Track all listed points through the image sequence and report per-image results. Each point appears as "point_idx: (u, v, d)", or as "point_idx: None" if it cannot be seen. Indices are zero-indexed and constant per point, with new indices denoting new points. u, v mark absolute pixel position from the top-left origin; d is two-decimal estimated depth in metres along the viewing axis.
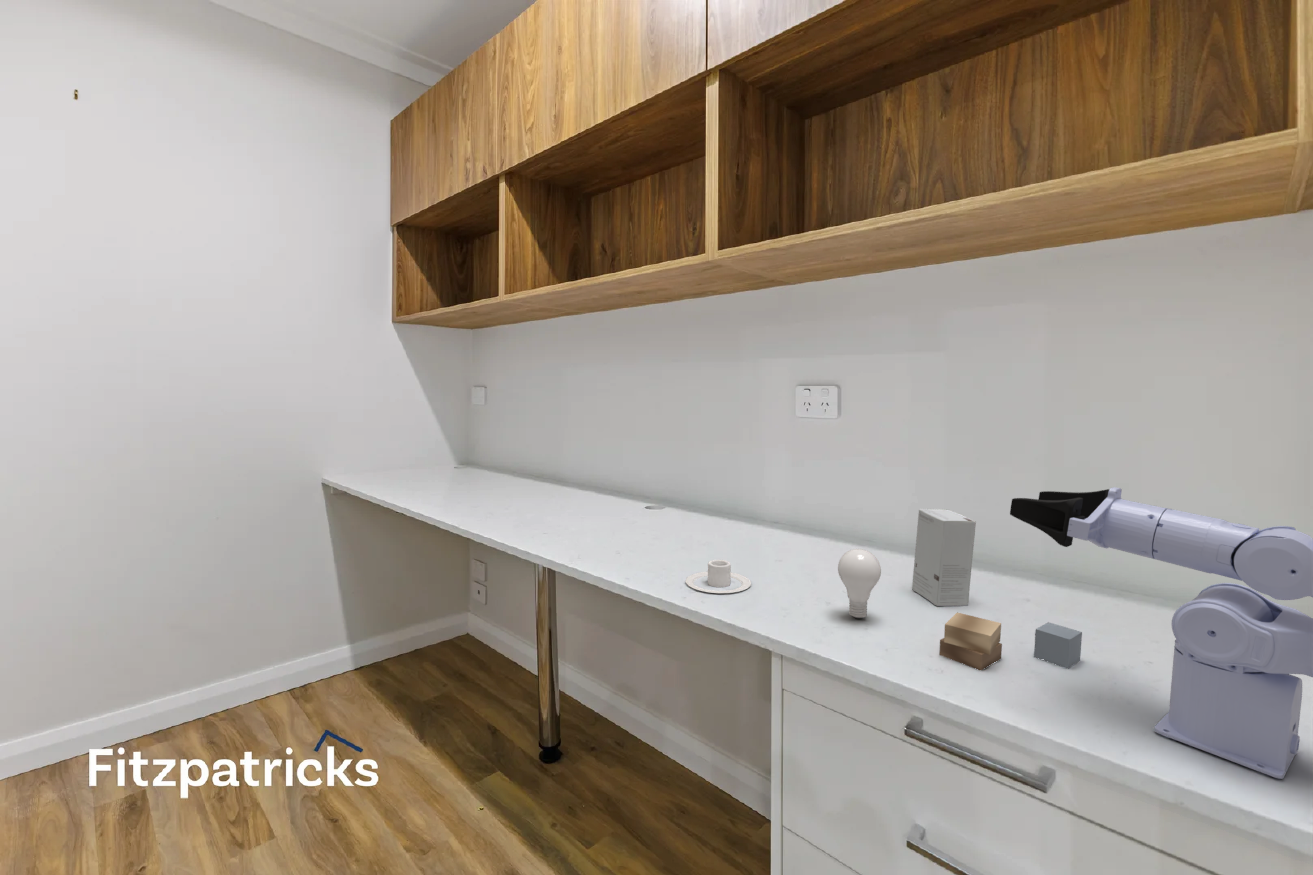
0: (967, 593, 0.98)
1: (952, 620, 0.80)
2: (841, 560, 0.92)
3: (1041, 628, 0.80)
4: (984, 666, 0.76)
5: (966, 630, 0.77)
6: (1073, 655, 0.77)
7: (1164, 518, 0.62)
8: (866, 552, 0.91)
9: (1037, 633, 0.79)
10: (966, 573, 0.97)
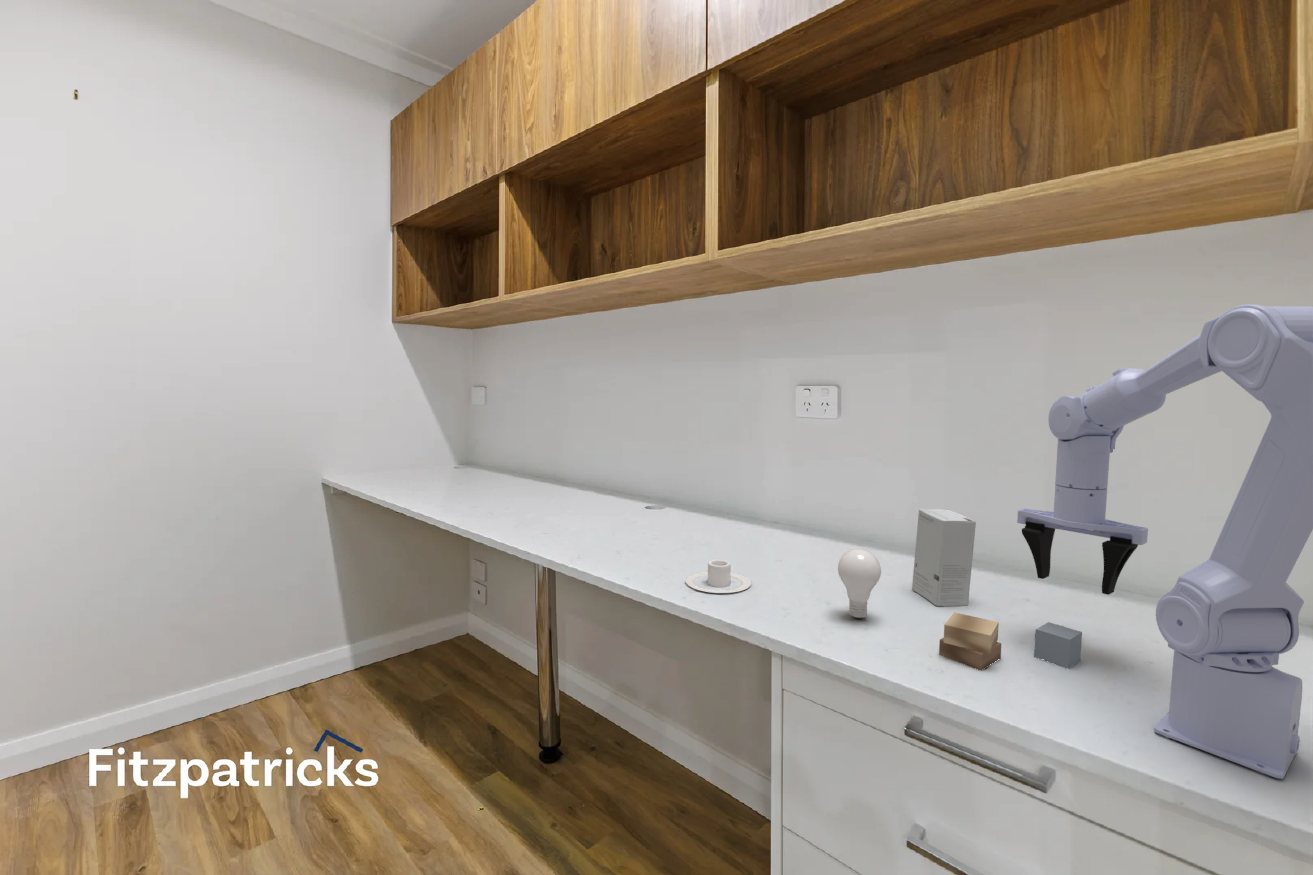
0: (967, 593, 0.98)
1: (951, 620, 0.80)
2: (841, 560, 0.92)
3: (1041, 628, 0.80)
4: (983, 666, 0.76)
5: (966, 630, 0.77)
6: (1073, 655, 0.77)
7: None
8: (866, 552, 0.91)
9: (1037, 633, 0.79)
10: (966, 573, 0.97)
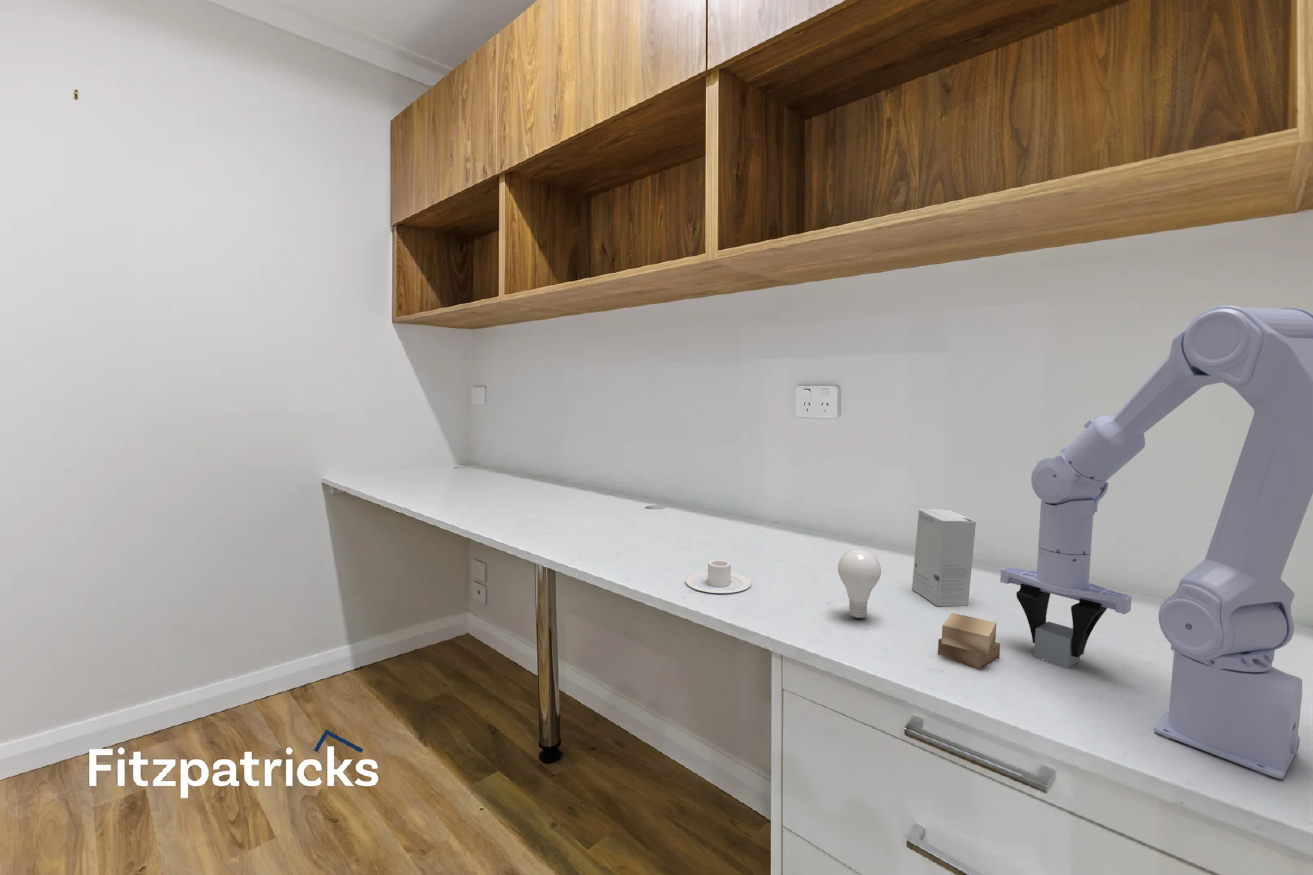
0: (967, 593, 0.98)
1: (948, 621, 0.80)
2: (841, 560, 0.92)
3: (1041, 627, 0.80)
4: (982, 666, 0.77)
5: (964, 631, 0.77)
6: None
7: (1038, 542, 0.79)
8: (866, 552, 0.91)
9: (1037, 632, 0.79)
10: (966, 573, 0.97)
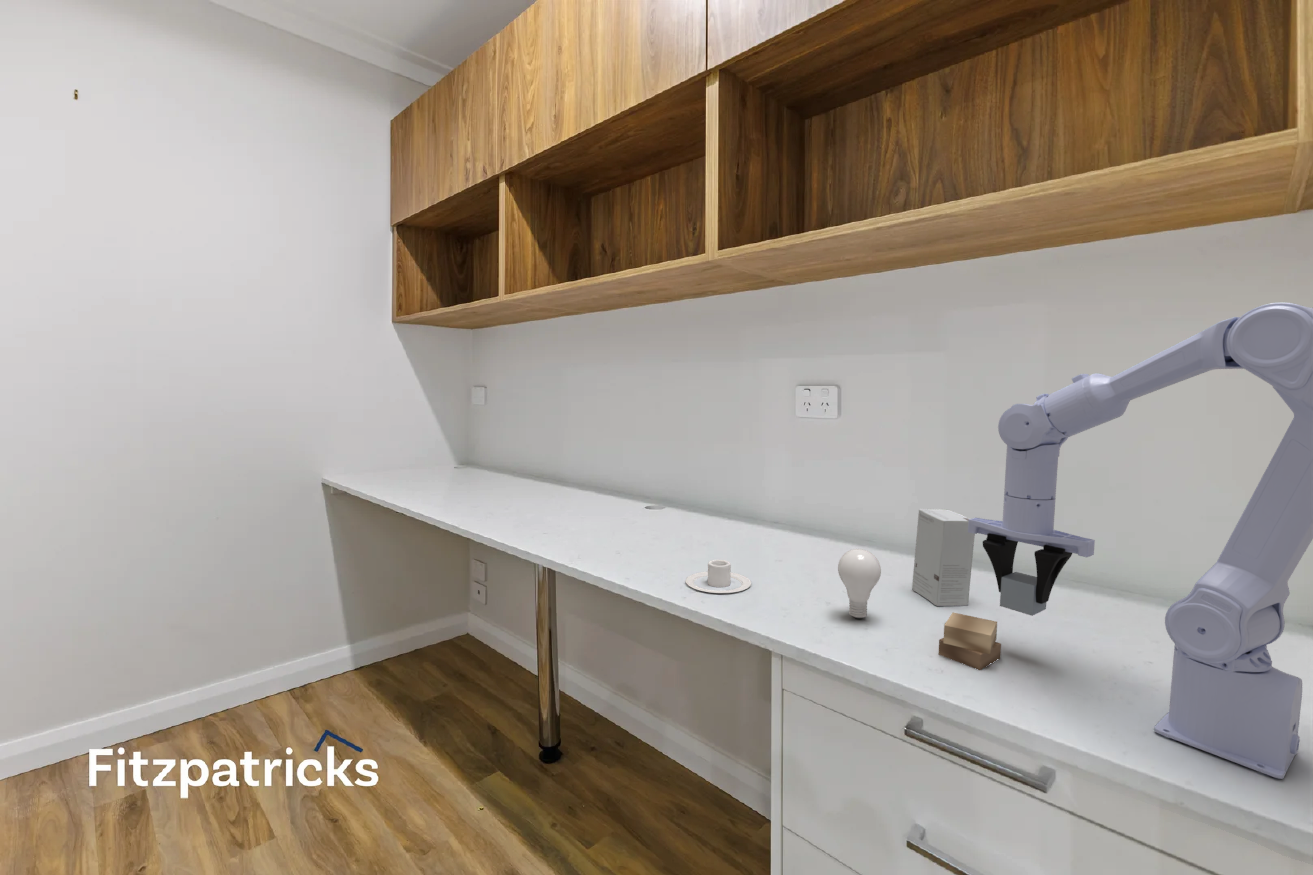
0: (967, 593, 0.98)
1: (950, 620, 0.80)
2: (841, 560, 0.92)
3: (1007, 576, 0.79)
4: (983, 666, 0.76)
5: (966, 631, 0.77)
6: None
7: (1004, 491, 0.78)
8: (866, 552, 0.91)
9: (1003, 581, 0.79)
10: (966, 573, 0.97)
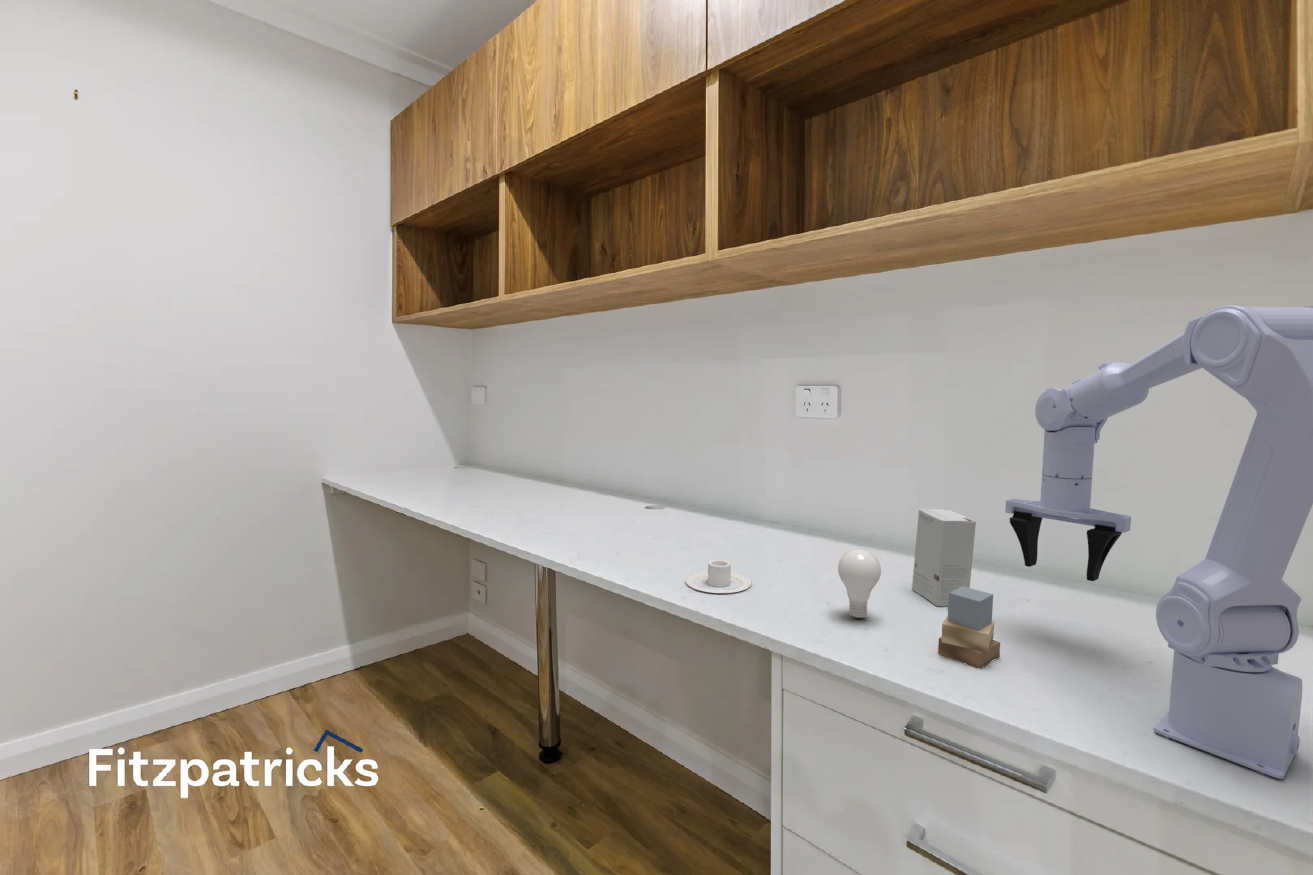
0: None
1: None
2: (841, 560, 0.92)
3: (954, 592, 0.80)
4: (982, 665, 0.77)
5: (964, 630, 0.78)
6: (984, 617, 0.78)
7: None
8: (866, 552, 0.91)
9: (950, 597, 0.80)
10: (966, 573, 0.97)
